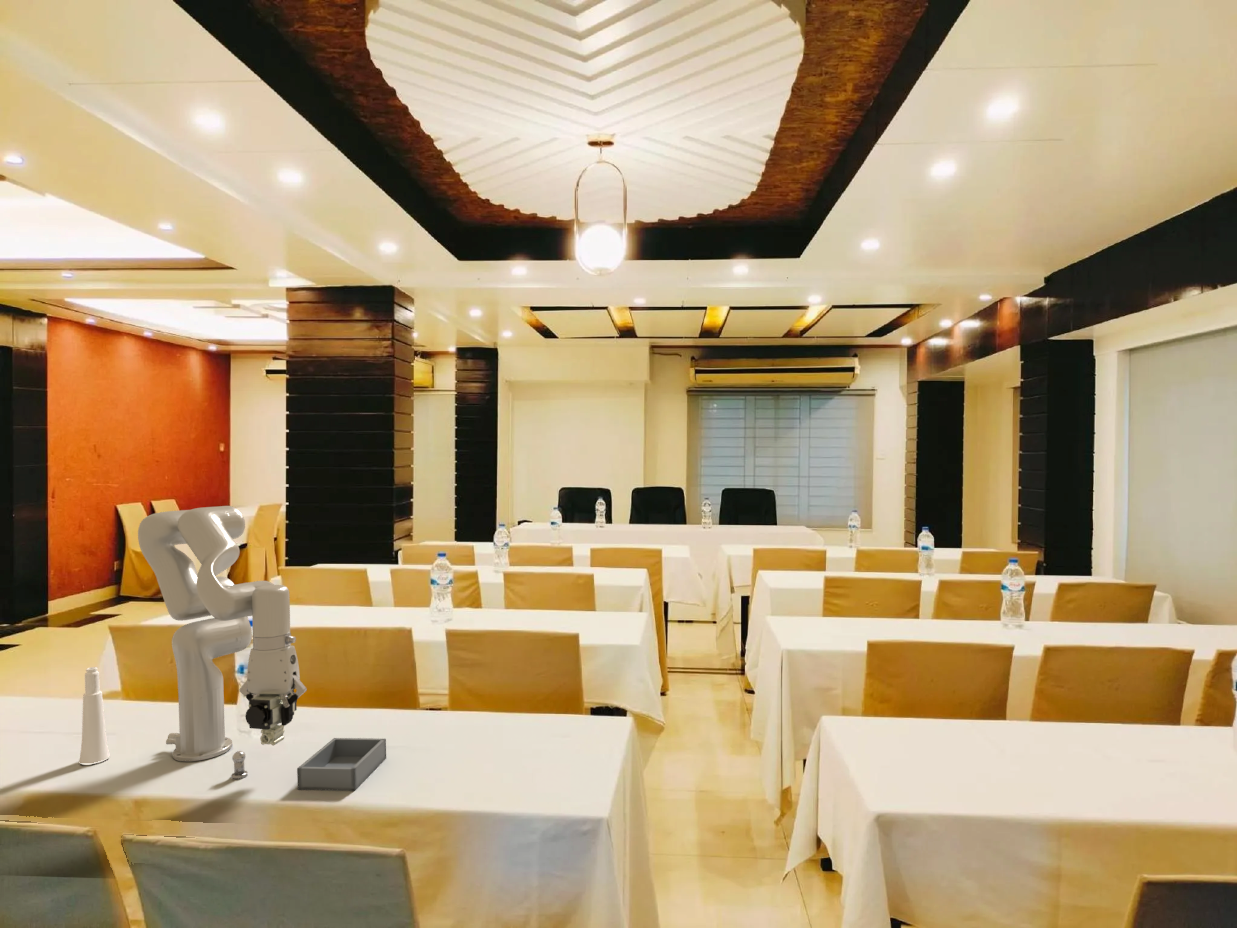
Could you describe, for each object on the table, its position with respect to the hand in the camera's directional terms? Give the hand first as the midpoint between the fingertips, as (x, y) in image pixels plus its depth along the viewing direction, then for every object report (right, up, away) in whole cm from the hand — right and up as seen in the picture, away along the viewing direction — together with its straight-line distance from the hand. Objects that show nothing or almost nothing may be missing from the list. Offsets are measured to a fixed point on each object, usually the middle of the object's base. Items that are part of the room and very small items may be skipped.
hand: (273, 722), depth 163 cm
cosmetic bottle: (-48, -13, +11) cm, 51 cm away
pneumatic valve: (0, -5, 0) cm, 5 cm away
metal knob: (-8, -12, +1) cm, 15 cm away
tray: (+15, -12, +1) cm, 19 cm away
